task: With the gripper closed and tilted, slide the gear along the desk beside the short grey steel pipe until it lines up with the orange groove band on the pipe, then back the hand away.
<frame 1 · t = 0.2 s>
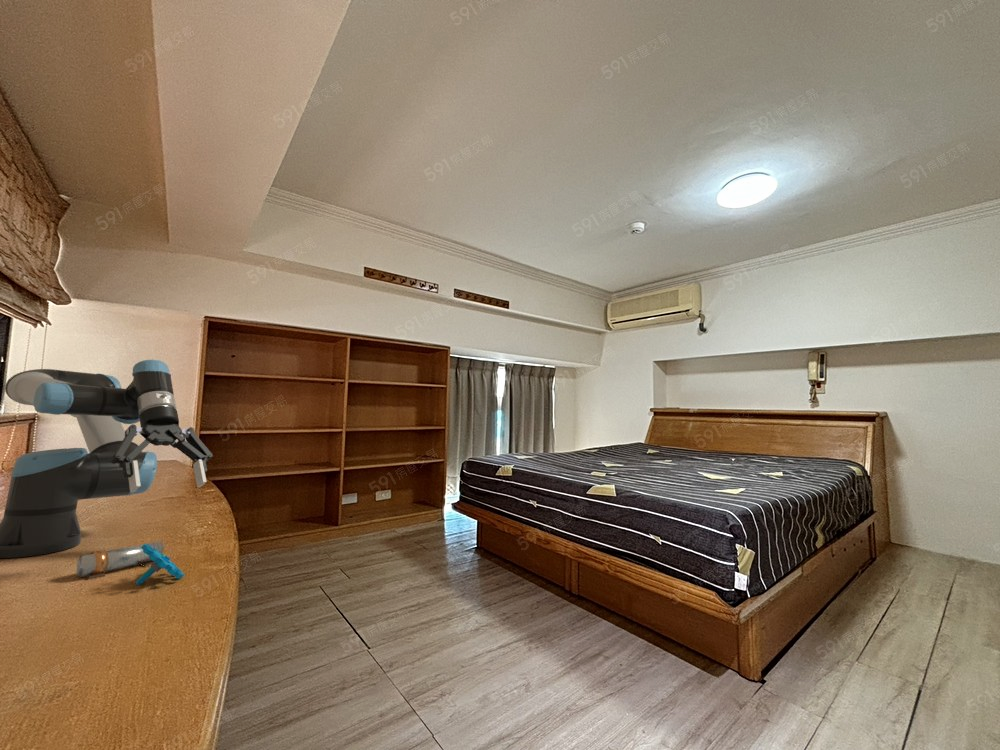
hand: (170, 487, 95), 16 cm above the table, tool tilted 35°, fingers open, 13 cm apart
guide pipe: (120, 569, 86), on the table
gear: (159, 581, 81), on the table
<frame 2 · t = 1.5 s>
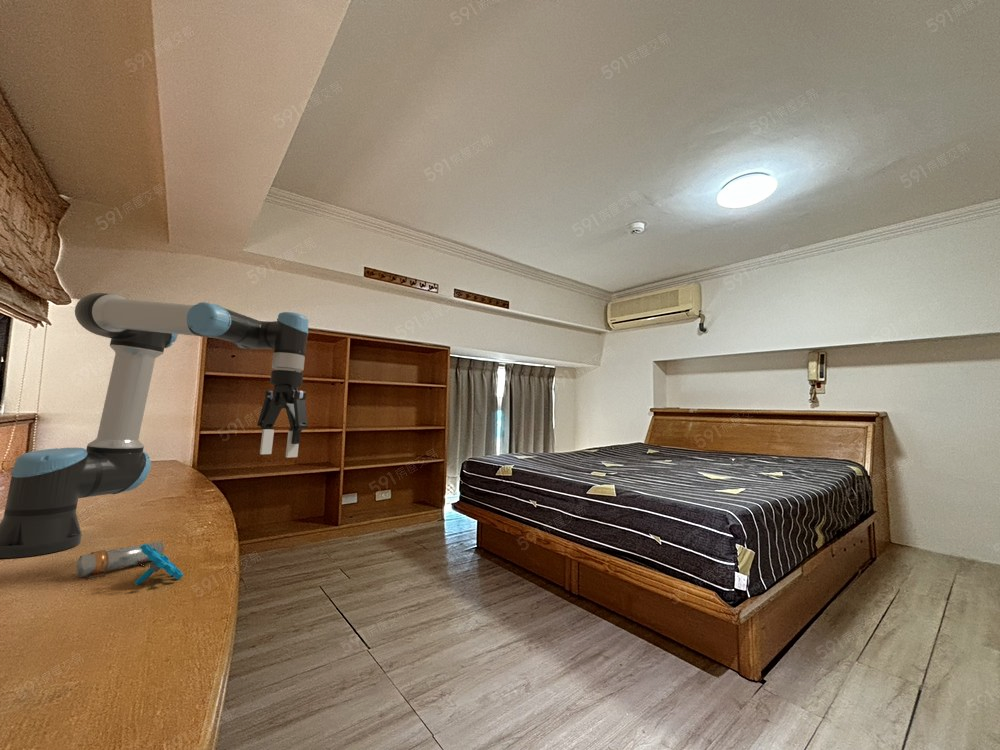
hand: (278, 455, 103), 24 cm above the table, tool pointing down, fingers open, 10 cm apart
nothing on the table moved.
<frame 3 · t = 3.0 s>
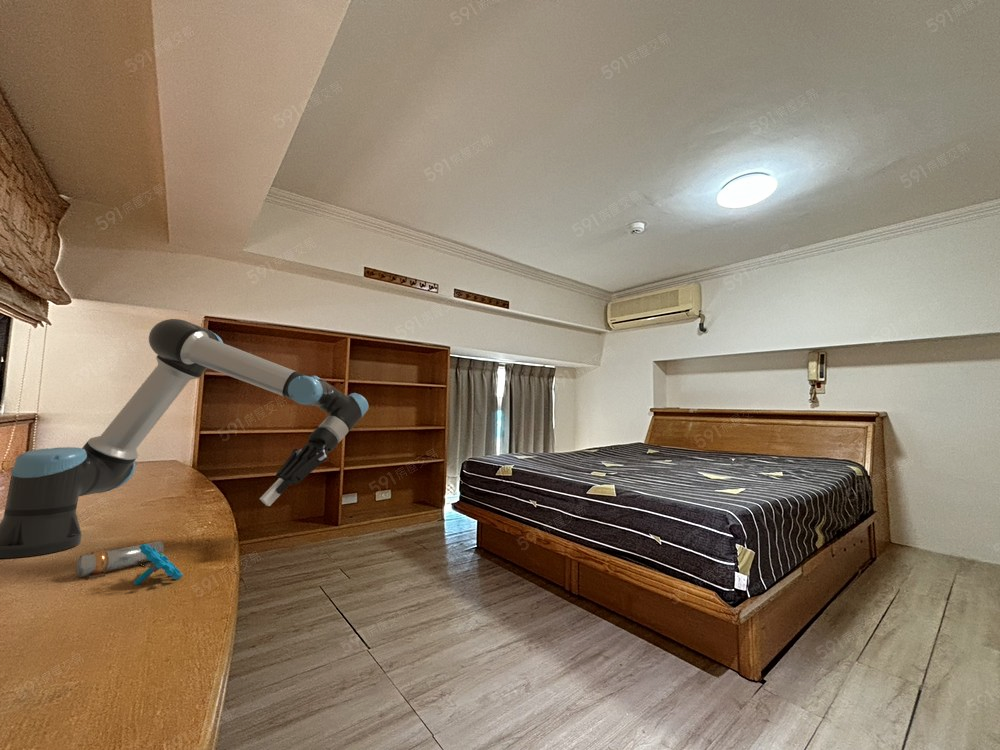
hand: (264, 502, 100), 13 cm above the table, tool tilted 45°, fingers closed
nothing on the table moved.
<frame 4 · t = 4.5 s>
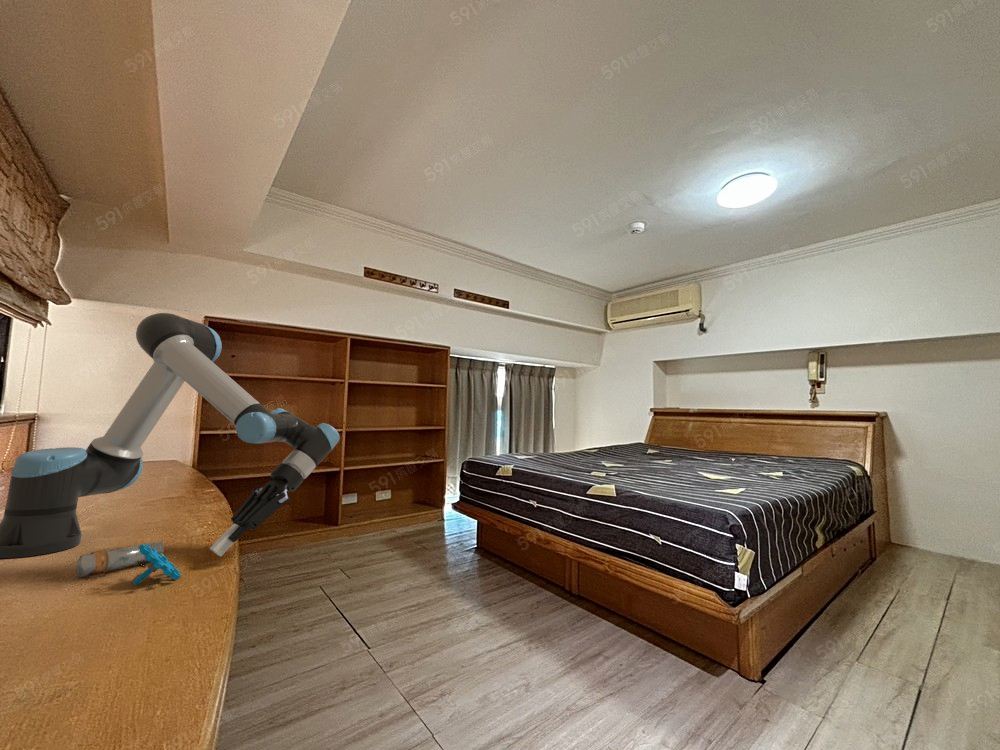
hand: (215, 552, 90), 3 cm above the table, tool tilted 45°, fingers closed
nothing on the table moved.
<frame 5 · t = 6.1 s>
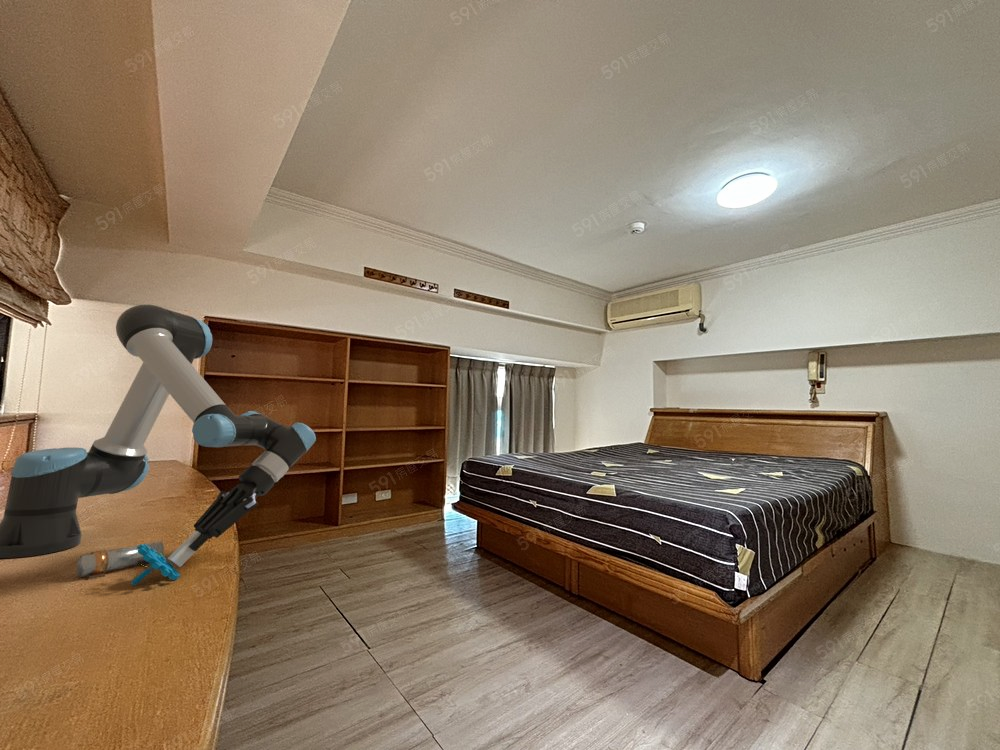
hand: (173, 562, 83), 3 cm above the table, tool tilted 45°, fingers closed
gear: (155, 582, 81), on the table, touching gripper
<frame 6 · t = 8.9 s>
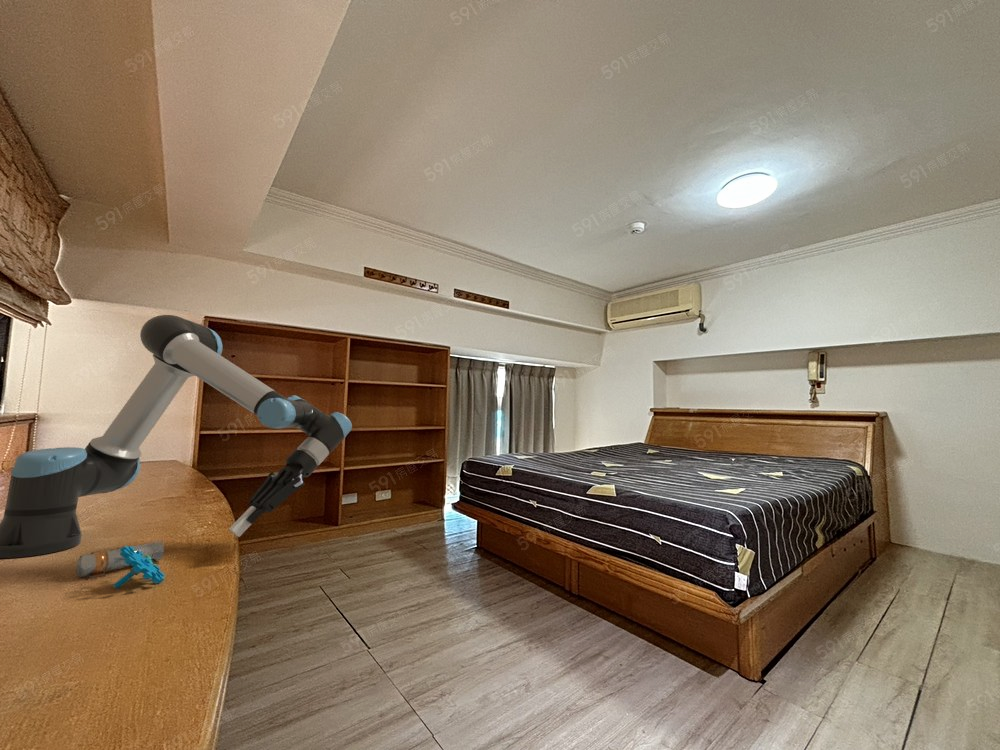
hand: (233, 532, 93), 7 cm above the table, tool tilted 45°, fingers closed
gear: (139, 585, 79), on the table
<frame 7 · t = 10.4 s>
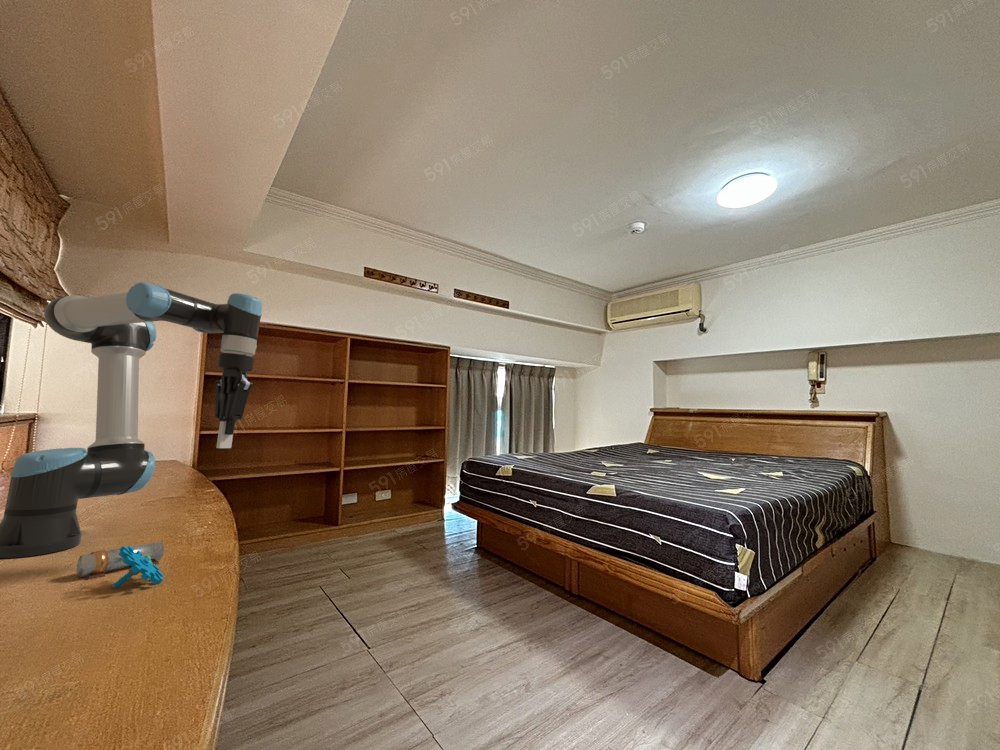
hand: (223, 447, 99), 26 cm above the table, tool pointing down, fingers closed
nothing on the table moved.
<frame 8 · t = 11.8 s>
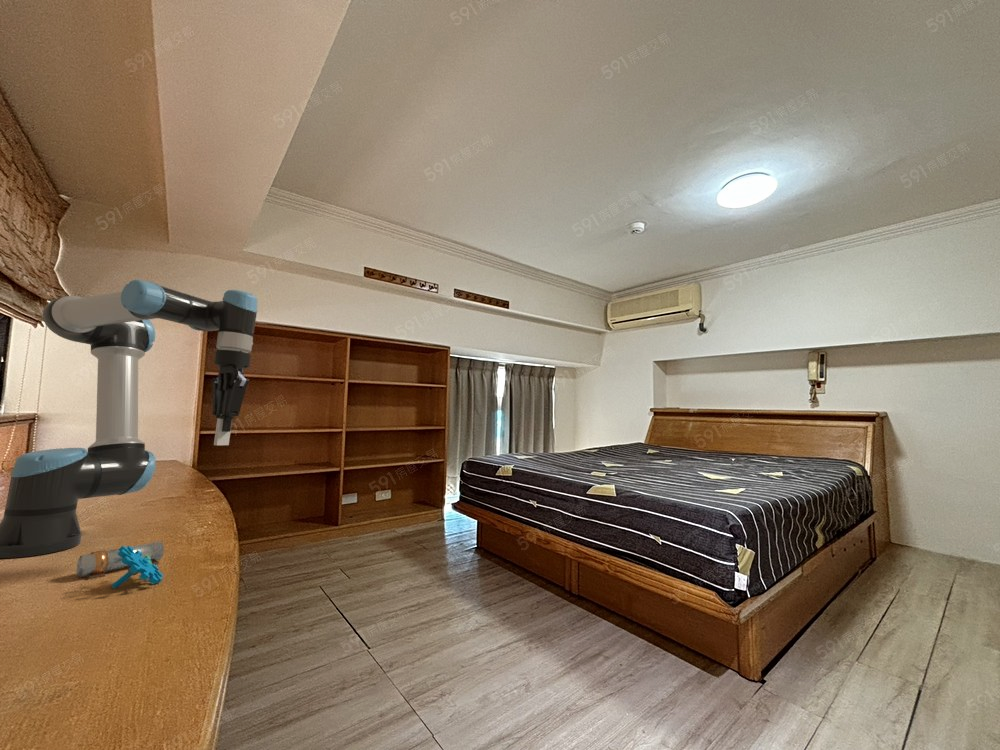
hand: (221, 445, 99), 26 cm above the table, tool pointing down, fingers closed
nothing on the table moved.
at the end: gear inside the target area (3.0 cm from its centre), on the table; gear tilted 0°; gear touching table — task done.
